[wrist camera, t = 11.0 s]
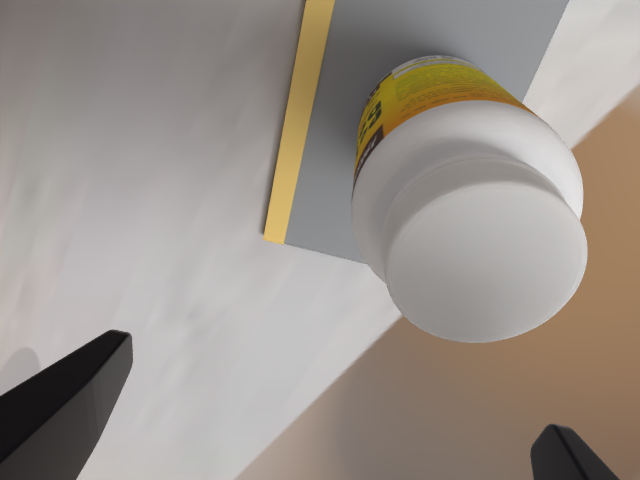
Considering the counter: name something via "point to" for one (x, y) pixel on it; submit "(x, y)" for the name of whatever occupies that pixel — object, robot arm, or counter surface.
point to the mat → (360, 79)
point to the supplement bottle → (465, 203)
